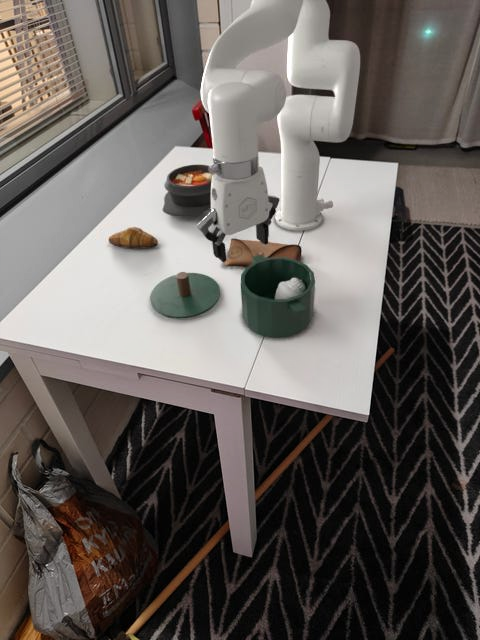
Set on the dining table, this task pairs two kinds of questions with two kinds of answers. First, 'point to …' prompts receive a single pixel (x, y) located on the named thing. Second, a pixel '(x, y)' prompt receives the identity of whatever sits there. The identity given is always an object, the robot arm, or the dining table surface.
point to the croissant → (133, 239)
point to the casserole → (188, 191)
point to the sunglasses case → (258, 251)
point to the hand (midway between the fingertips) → (242, 249)
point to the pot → (260, 297)
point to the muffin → (289, 288)
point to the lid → (185, 295)
